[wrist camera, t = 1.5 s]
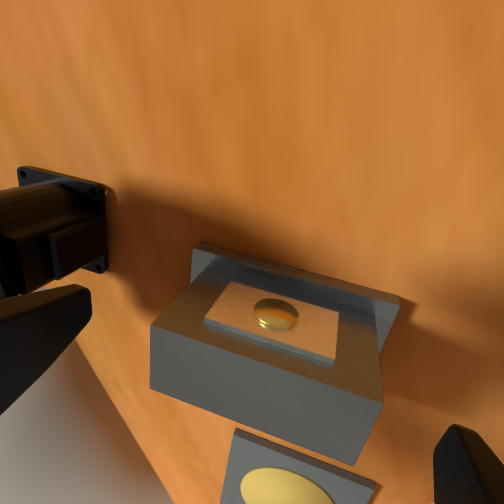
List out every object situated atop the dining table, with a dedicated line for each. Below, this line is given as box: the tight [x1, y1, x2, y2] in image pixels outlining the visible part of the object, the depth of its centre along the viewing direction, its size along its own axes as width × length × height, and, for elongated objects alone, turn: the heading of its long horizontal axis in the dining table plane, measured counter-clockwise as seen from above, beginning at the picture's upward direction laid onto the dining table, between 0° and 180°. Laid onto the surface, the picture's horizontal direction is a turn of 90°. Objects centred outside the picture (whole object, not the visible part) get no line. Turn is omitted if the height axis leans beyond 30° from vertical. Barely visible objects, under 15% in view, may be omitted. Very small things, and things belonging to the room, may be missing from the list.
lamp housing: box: [150, 242, 400, 467], centre depth 17 cm, size 12×6×7 cm, turn 80°
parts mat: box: [220, 428, 375, 504], centre depth 27 cm, size 11×11×1 cm
